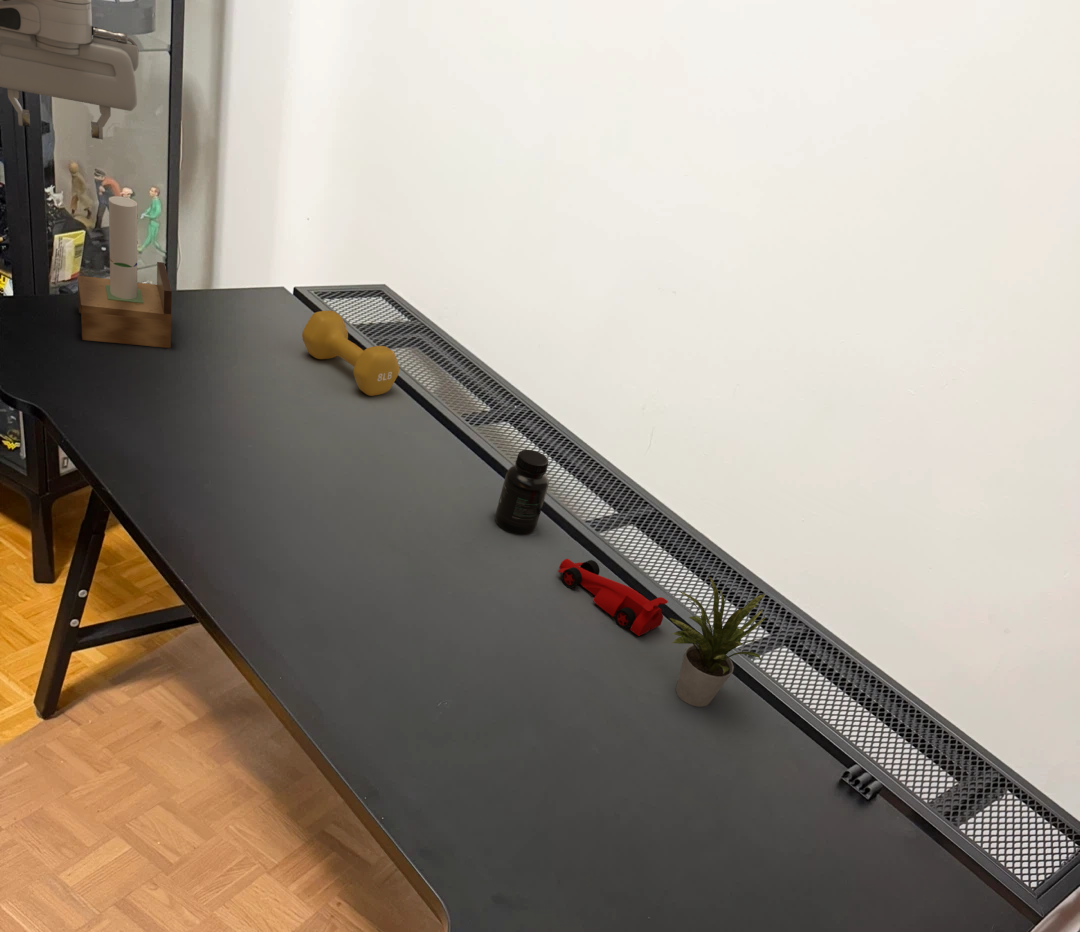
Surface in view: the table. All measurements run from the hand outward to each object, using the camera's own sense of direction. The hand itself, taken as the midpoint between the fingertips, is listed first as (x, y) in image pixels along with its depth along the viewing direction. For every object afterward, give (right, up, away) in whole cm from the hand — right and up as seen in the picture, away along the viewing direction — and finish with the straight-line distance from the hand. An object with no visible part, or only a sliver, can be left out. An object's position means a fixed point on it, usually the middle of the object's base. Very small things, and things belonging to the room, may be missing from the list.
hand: (61, 131), depth 145 cm
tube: (-3, -12, +28) cm, 31 cm away
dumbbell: (+33, -21, +42) cm, 57 cm away
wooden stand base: (-4, -16, +32) cm, 36 cm away
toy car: (+78, -66, +8) cm, 103 cm away
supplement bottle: (+65, -53, +18) cm, 85 cm away
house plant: (+90, -80, -2) cm, 121 cm away
